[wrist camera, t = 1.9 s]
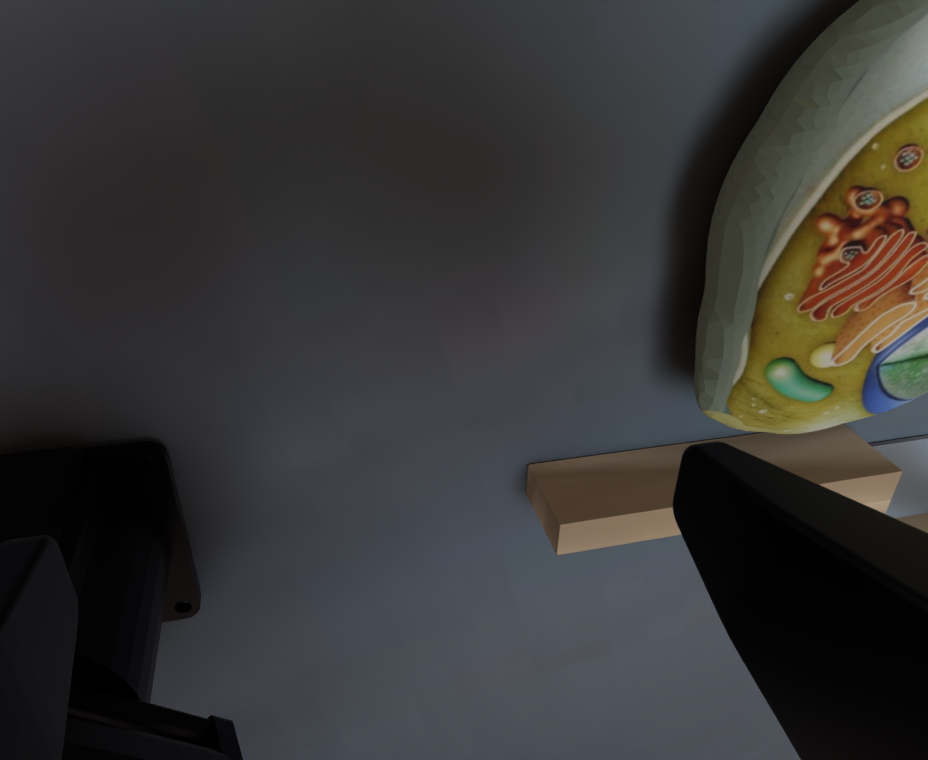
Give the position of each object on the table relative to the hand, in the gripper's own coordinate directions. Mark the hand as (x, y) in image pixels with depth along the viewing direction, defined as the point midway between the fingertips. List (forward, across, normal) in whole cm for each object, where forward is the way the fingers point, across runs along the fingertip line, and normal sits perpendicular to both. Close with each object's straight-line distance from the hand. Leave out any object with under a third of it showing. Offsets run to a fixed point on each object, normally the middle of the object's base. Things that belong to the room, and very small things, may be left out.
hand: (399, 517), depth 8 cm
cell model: (+12, -16, 0) cm, 20 cm away
